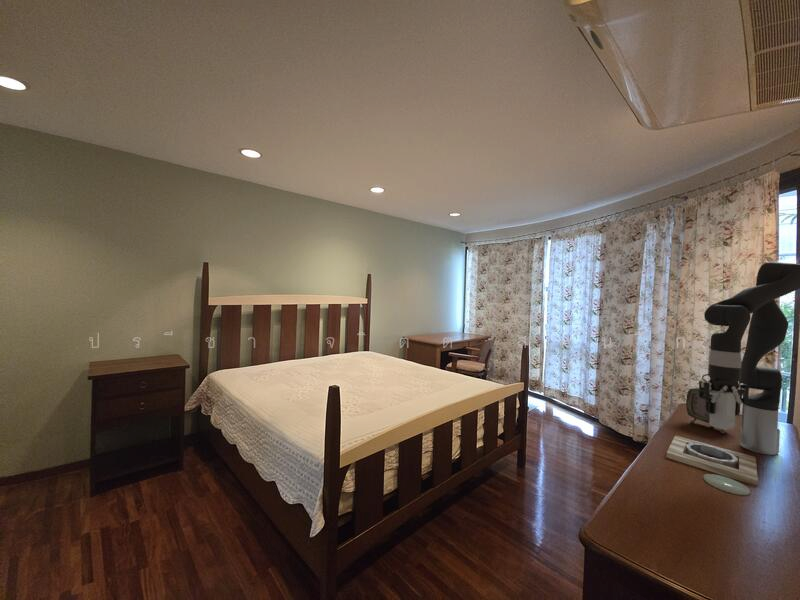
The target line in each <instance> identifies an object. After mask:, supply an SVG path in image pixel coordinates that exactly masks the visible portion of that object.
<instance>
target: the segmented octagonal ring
mask: <svg viewBox="0 0 800 600" xmlns="http://www.w3.org/2000/svg"><path fill="white" fill-rule="evenodd" d="M712 446H713V445H712ZM712 446H708V445H703V444H695V443H690V444H687V445H686V450H685V454H688V455H691V456H694V457H698V458H701V459H704V460H708V461H711V462H714V463H718V464H721V465H724V466H728V467H731V468H734V469H739V462H738V459H737V458H736V457H735V456H734V455H733V454H731V453H729V452H727V451H724V450H721V449H718V448H715V447H712ZM705 454H706V455H705ZM708 455H711V456H713V457H710V456H708ZM716 457H717V458H716Z"/></svg>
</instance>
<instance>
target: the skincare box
mask: <svg viewBox="0 0 800 600" xmlns="http://www.w3.org/2000/svg"><path fill="white" fill-rule="evenodd" d="M717 392H718V391H714V390H712V391H711V393H717ZM712 397H713V395H711V398H712ZM714 403H715V414H711V413H710V421H709V423H708V424H709V427H710V426H713V428H717V429H719V430H721V429H723V430H724V431H726V430H731V429H735V427H736V425H735V423H736V415H735V409H736V399H735V396H734V393H732V392H721V393H720V398H717V400H716V401H715V402H714Z"/></svg>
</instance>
